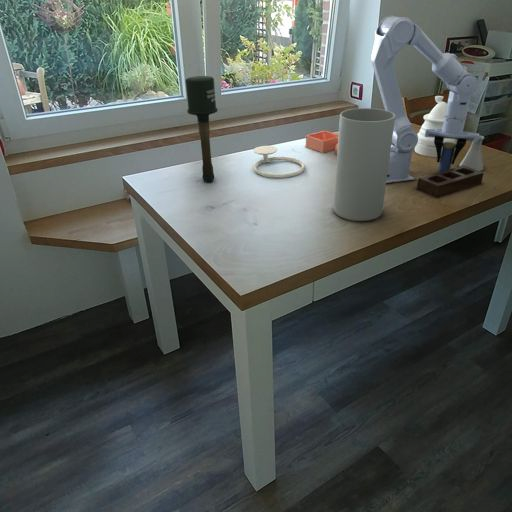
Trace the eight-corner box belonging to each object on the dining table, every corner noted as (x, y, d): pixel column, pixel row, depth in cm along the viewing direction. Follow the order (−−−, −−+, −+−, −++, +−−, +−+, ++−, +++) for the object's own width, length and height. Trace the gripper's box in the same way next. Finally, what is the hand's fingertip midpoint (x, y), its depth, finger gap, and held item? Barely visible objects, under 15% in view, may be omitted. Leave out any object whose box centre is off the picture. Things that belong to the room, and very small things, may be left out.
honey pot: (406, 149, 156) (414, 96, 147) (434, 143, 161) (443, 92, 151) (433, 159, 146) (443, 104, 137) (461, 153, 151) (473, 99, 141)
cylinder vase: (348, 197, 122) (356, 105, 109) (390, 209, 115) (404, 112, 102) (324, 214, 114) (330, 116, 101) (368, 227, 107) (380, 124, 94)
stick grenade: (218, 186, 132) (210, 81, 116) (191, 185, 134) (179, 81, 118) (225, 176, 139) (218, 75, 123) (199, 174, 141) (189, 75, 125)
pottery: (305, 146, 162) (306, 119, 156) (324, 141, 166) (325, 115, 161) (341, 159, 149) (343, 130, 144) (360, 153, 154) (363, 125, 149)
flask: (480, 173, 134) (488, 141, 129) (455, 169, 138) (462, 138, 133) (486, 166, 139) (494, 135, 134) (462, 162, 143) (469, 132, 138)
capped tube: (441, 175, 133) (447, 146, 128) (434, 171, 136) (440, 142, 131) (452, 174, 134) (458, 145, 129) (445, 170, 137) (451, 141, 132)
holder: (416, 189, 126) (418, 177, 124) (460, 176, 133) (463, 165, 132) (436, 197, 121) (438, 186, 119) (480, 183, 128) (483, 172, 126)
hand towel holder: (272, 169, 131) (237, 151, 146) (272, 183, 133) (238, 164, 148) (316, 157, 138) (278, 141, 153) (315, 170, 141) (278, 153, 156)
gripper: (483, 115, 126) (472, 160, 133) (430, 111, 132) (422, 155, 139) (482, 121, 121) (471, 168, 128) (427, 117, 126) (419, 162, 134)
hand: (445, 162), depth 133 cm, fingers closed on capped tube, 3 cm apart
